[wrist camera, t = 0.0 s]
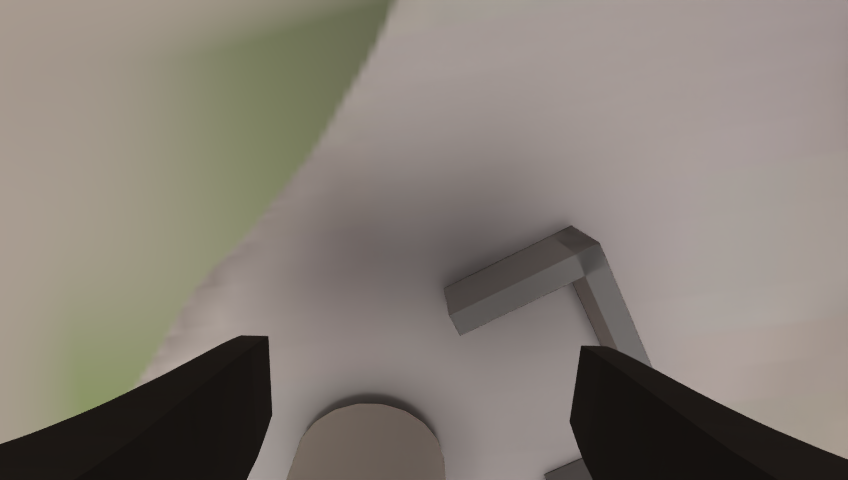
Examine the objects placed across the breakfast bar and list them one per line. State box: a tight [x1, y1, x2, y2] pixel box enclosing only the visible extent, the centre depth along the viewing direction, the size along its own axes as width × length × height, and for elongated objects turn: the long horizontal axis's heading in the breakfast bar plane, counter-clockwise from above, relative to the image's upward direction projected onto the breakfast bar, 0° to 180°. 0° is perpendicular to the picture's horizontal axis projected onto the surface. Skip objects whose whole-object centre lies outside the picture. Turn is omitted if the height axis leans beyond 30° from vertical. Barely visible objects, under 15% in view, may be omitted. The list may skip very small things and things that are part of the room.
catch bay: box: [444, 226, 652, 480], centre depth 20 cm, size 6×13×3 cm, turn 27°
